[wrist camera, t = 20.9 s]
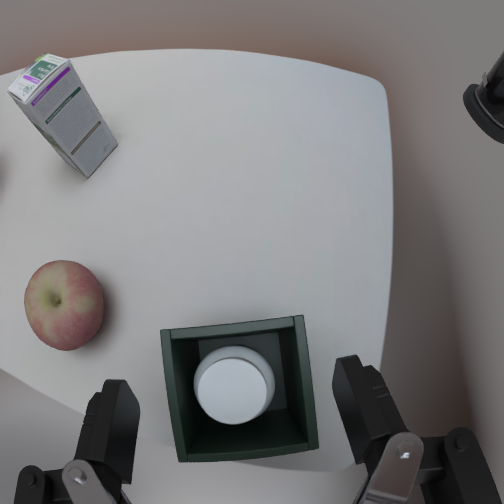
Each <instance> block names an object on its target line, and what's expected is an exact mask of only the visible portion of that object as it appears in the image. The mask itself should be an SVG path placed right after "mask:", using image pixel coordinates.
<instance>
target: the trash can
mask: <svg viewBox="0 0 504 504" xmlns="http://www.w3.org/2000/svg"><path fill="white" fill-rule="evenodd" d="M160 335H161V346H162V356H163V365H164V374H165V382H166V389H167V397H168V404H169V410H170V417H171V423H172V429H173V435H174V441H175V446H176V452H177V457H178V461H179V462H218V461H234V460H246V459H256V458H264V457H272V456H279V455H286V454H292V453H298V452H304V451H309V450H314V449H319V441H318V431H317V421H316V411H315V402H314V393H313V384H312V376H311V368H310V360H309V352H308V344H307V337H306V329H305V322H304V316H303V315H296V316H289V317H282V318H274V319H266V320H258V321H250V322H241V323H232V324H222V325H212V326H201V327H190V328H177V329H163V330H160ZM229 345H244V346H248V347H251V348H253V349H254V350H256V351H257V352H259V353H260V354H261V355H262V356H263V357H264V358H265V359H266V360H267V362H268V363H269V365H270V366H271V368H272V370H273V374H274V378H275V392H274V396H273V399H272V401H271V403H270V405H269V406H268V408H267V409H266V410H265V411H264V412H263V413H262V414H261V415H259V416H258V417H256V418H254V419H252V420H250V421H247V422H245V423H241V424H226V423H222V422H219V421H217V420H215V419H213V418H212V417H210V416H209V415H208V414H207V413H206V412H205V411H204V409H203V408H202V407H201V405H200V404H199V402H198V400H197V398H196V395H195V392H194V376H195V373H196V370H197V368H198V366H199V364H200V363H201V361H202V360H203V359H204V358H205V357H206V356H207V355H208V354H209V353H211V352H212V351H214V350H216V349H218V348H221V347H224V346H229Z"/></svg>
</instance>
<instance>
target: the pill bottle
mask: <svg viewBox="0 0 504 504" xmlns="http://www.w3.org/2000/svg"><path fill="white" fill-rule="evenodd" d="M194 392H195V395H196V398H197V400H198V402H199V404H200V405H201V407H202V408H203V409H204V411H205V412H206V413H207V414H208V415H209V416H210V417H212V418H213V419H215V420H217V421H219V422H222V423H226V424H241V423H245V422H247V421H250V420H252V419H254V418H256V417H258V416H259V415H261V414H262V413H263V412H264V411H265V410H266V409H267V408H268V406H269V405H270V403H271V401H272V399H273V396H274V392H275V378H274V374H273V370H272V368H271V366H270V365H269V363H268V362H267V360H266V359H265V358H264V357H263V356H262V355H261V354H260V353H259V352H257V351H256V350H254V349H253V348H251V347H248V346H244V345H229V346H224V347H221V348H218V349H216V350H214V351H212V352H211V353H209V354H208V355H207V356H206V357H205V358H204V359H203V360H202V361H201V363H200V364H199V366H198V368H197V370H196V373H195V376H194Z"/></svg>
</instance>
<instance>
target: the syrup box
mask: <svg viewBox="0 0 504 504" xmlns="http://www.w3.org/2000/svg"><path fill="white" fill-rule="evenodd" d="M7 92H8V93H9V95H10V96H11V97H12V98H13V100H14V101H15V102H16V104H17V105H18V106H19V108H20V109H21V110H22V111H23V113H24V114H25V115H26V116H27V117H28V119H29V120H30V121H31V122H32V123H33V124H34V126H35V127H36V128H37V129H38V130H39V132H40V133H41V134H42V135H43V136H44V138H45V139H46V140H47V141H48V142H49V143H50V144H51V146H52V147H53V148H54V149H55V150H56V151H57V152H58V154H59V155H60V156H61V157H62V158H63V159H64V160H65V161H66V162H67V163H68V164H70V165H71V166H72V167H74V168H75V169H76V170H78V171H79V172H80V173H82V174H83V175H84V176H85V177H87V178H88V177H89V176H90V175H91V174H92V173H93V172H94V171H95V170H96V169H97V167H98V166H99V165H100V164H101V163H102V162H103V161H104V159H105V158H106V157H107V156H108V155H109V154H110V153H111V151H112V150H113V149H114V148H115V147H116V146H117V145H118V144H117V142H116V140H115V138H114V137H113V135H112V133H111V131H110V130H109V128H108V126H107V125H106V123H105V121H104V120H103V118H102V116H101V114H100V113H99V111H98V109H97V108H96V106H95V104H94V102H93V101H92V99H91V97H90V96H89V94H88V92H87V90H86V89H85V87H84V85H83V84H82V82H81V80H80V78H79V76H78V75H77V73H76V71H75V69H74V67H73V65H72V64H71V62H70V60H69V59H65V58H62V57H58V56H55V55H51V54H48V53H44V54H43V55H41V56H40V57H39V58H37V59H36V60H35V61H34V62H32V63H31V64H30V65H29V66H28V67H27V68H26V69H25V70H24V71H23V72H22V73H21V74H20V75H19V76H18V77H17V78H16V79H15V80H14V82H13V83H12V84H11V85H10V86H9V87H8V88H7Z"/></svg>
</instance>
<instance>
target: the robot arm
mask: <svg viewBox="0 0 504 504" xmlns="http://www.w3.org/2000/svg"><path fill="white" fill-rule="evenodd" d="M482 78H483V81H482V82H481V84H480V85H479V86H478V87H477V88H476V90H475V91H474V97H475V100H476V102H477V104H478V106H479V107H480V109H481V110H482V111H483V113H484V114H485V115H486V116H487V117H488V118H489V119H490V120H491V121H492V122H493V123H494V124H495V125H496V126H498V127H499V128H500V129H502V130H504V51H503V52H502V54H501V55H500V57H499V58H498V60H497V61H496V63H495V64H494V65H493V67H492V68H491V70H490V71H489V73H488V74H487V75H486V73H484V75H483V76H482ZM332 389H333V394H334V398H335V401H336V404H337V407H338V410H339V413H340V416H341V419H342V422H343V425H344V428H345V431H346V434H347V437H348V440H349V443H350V446H351V450H352V453H353V456H354V459H355V462H356V465H357V464H361V463H365V465H366V468H367V471H368V472H367V475H366V477H365V479H364V481H363V483H362V485H361V488H360V490H359V492H358V494H357V496H356V498H355V500H354V502H353V504H407V501H408V498H409V495H410V492H411V490H412V487H413V484H420V486H421V490H422V493H423V496H424V499H425V503H426V504H502V502H501V499H500V496H499V493H498V491H497V488H496V485H495V482H494V480H493V478H492V475H491V472H490V470H489V467H488V465H487V462H486V460H485V457H484V455H483V453H482V450H481V448H480V446H479V443H478V441H477V439H476V437H475V435H474V434H473V432H472V431H470V430H469V429H467V428H462V427H460V428H455V429H453V430H451V431H450V432H449V433H448V434H447V436H442V437H429V438H421V437H418V436H417V435H415V434H413V433H410V432H409V431H408V429H407V428H406V426H405V425H404V422H403V420H402V418H401V416H400V414H399V411H398V409H397V407H396V405H395V403H394V401H393V399H392V397H391V396H390V392H389V390H388V388H387V387H386V384H385V382H384V380H383V377H382V376H381V373H379V372H378V371H377V370H376V369H375V368H374V367H373V366H372V365H369V366H364V367H363V366H362V363H361V361H360V359H359V357H358V356H357V355H351V356H346V357H341V358H337V359H336V364H335V370H334V375H333V381H332ZM139 419H140V406H139V402H138V400H137V399H136V397H135V395H134V394H133V392H132V390H131V389H130V387H129V385H128V383H127V382H126V381H125V380H113V379H107V380H106V381H105V382H104V385H103V388H102V392H96V393H95V394H94V396H93V397H92V398H91V400H90V401H89V403H88V407H87V410H86V415H85V417H84V421H83V423H84V424H83V425H82V429H81V433H80V437H79V441H78V445H77V449H76V454H75V457H74V459H73V460H72V461H70V462H68V463H67V464H66V465H65V467H64V468H63V469H58V470H50V471H42V470H41V469H39V468H38V467H36V466H31V465H29V466H26V467H24V468H23V469H22V470H21V472H20V474H19V477H18V482H17V487H16V493H15V499H14V504H132V503H131V502H130V501H129V499H128V497H127V496H126V495H125V493H124V492H123V490H122V489H121V486H122V484H131V481H132V472H133V463H134V455H135V447H136V439H137V432H138V425H139Z"/></svg>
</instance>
